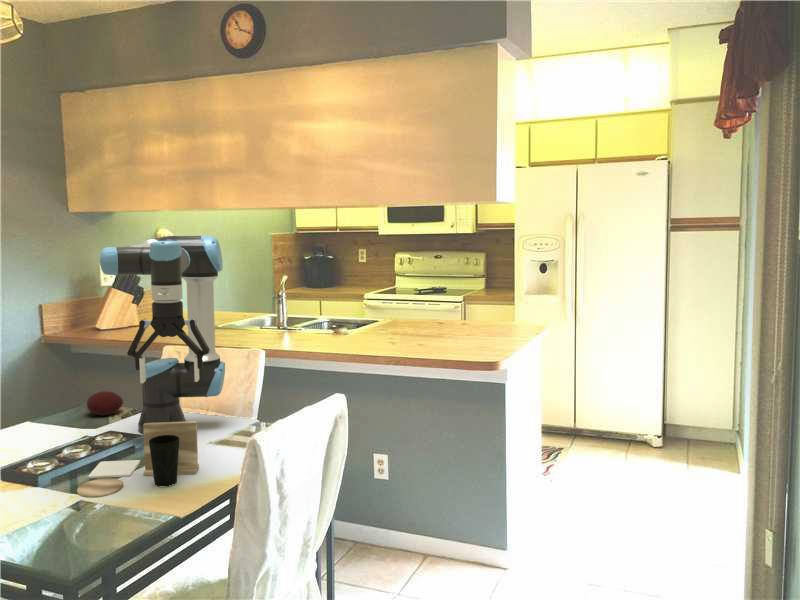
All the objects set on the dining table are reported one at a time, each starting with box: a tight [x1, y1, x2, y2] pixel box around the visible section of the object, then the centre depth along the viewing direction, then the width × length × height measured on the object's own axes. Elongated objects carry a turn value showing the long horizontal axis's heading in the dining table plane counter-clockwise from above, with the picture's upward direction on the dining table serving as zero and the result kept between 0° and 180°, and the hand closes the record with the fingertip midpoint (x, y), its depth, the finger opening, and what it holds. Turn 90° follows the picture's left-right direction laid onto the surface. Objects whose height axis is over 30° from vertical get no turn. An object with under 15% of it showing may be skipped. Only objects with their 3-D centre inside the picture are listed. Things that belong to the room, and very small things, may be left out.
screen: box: [143, 420, 200, 477], centre depth 183 cm, size 5×14×14 cm, turn 98°
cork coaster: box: [76, 477, 124, 498], centre depth 171 cm, size 11×11×1 cm
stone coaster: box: [87, 459, 141, 479], centre depth 184 cm, size 11×11×1 cm
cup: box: [149, 435, 179, 487], centre depth 175 cm, size 8×8×12 cm
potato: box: [86, 390, 124, 417], centre depth 236 cm, size 12×11×8 cm
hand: (170, 381), depth 171 cm, fingers open, 13 cm apart
